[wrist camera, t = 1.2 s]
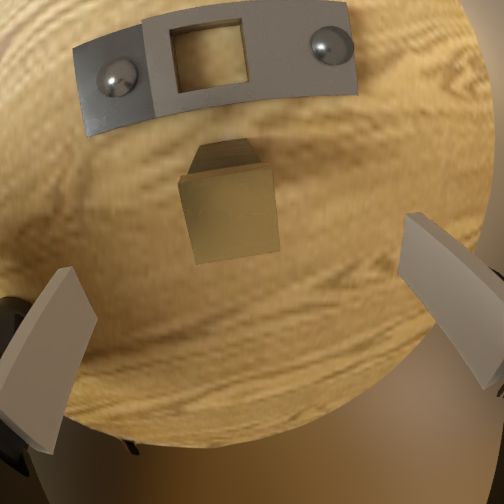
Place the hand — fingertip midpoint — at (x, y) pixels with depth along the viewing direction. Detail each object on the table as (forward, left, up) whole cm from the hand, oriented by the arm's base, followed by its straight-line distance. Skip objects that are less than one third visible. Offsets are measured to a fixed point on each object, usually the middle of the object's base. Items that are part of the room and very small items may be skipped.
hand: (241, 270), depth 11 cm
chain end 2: (+4, +10, -18) cm, 21 cm away
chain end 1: (-4, +10, -18) cm, 21 cm away
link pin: (0, 0, -18) cm, 18 cm away
